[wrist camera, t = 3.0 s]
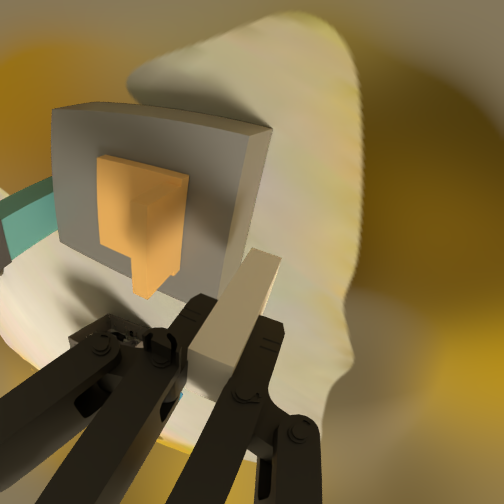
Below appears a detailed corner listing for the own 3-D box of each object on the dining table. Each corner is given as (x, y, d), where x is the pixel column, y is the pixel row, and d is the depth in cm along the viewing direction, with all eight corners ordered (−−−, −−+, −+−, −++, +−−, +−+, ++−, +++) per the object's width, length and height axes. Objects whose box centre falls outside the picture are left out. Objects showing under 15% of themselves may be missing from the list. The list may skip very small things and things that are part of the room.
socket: (94, 219, 26) (59, 241, 21) (96, 101, 19) (52, 109, 15) (238, 276, 23) (214, 314, 19) (272, 128, 17) (249, 136, 13)
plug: (61, 206, 27) (-20, 256, 17) (58, 172, 24) (-31, 217, 14) (83, 215, 26) (-4, 273, 16) (81, 178, 24) (-17, 230, 14)
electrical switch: (112, 331, 35) (70, 371, 27) (103, 301, 33) (56, 341, 25) (167, 353, 33) (127, 404, 25) (161, 321, 31) (114, 374, 22)
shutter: (107, 239, 19) (71, 264, 16) (105, 154, 15) (60, 171, 12) (179, 269, 18) (147, 304, 15) (189, 175, 15) (147, 197, 11)
